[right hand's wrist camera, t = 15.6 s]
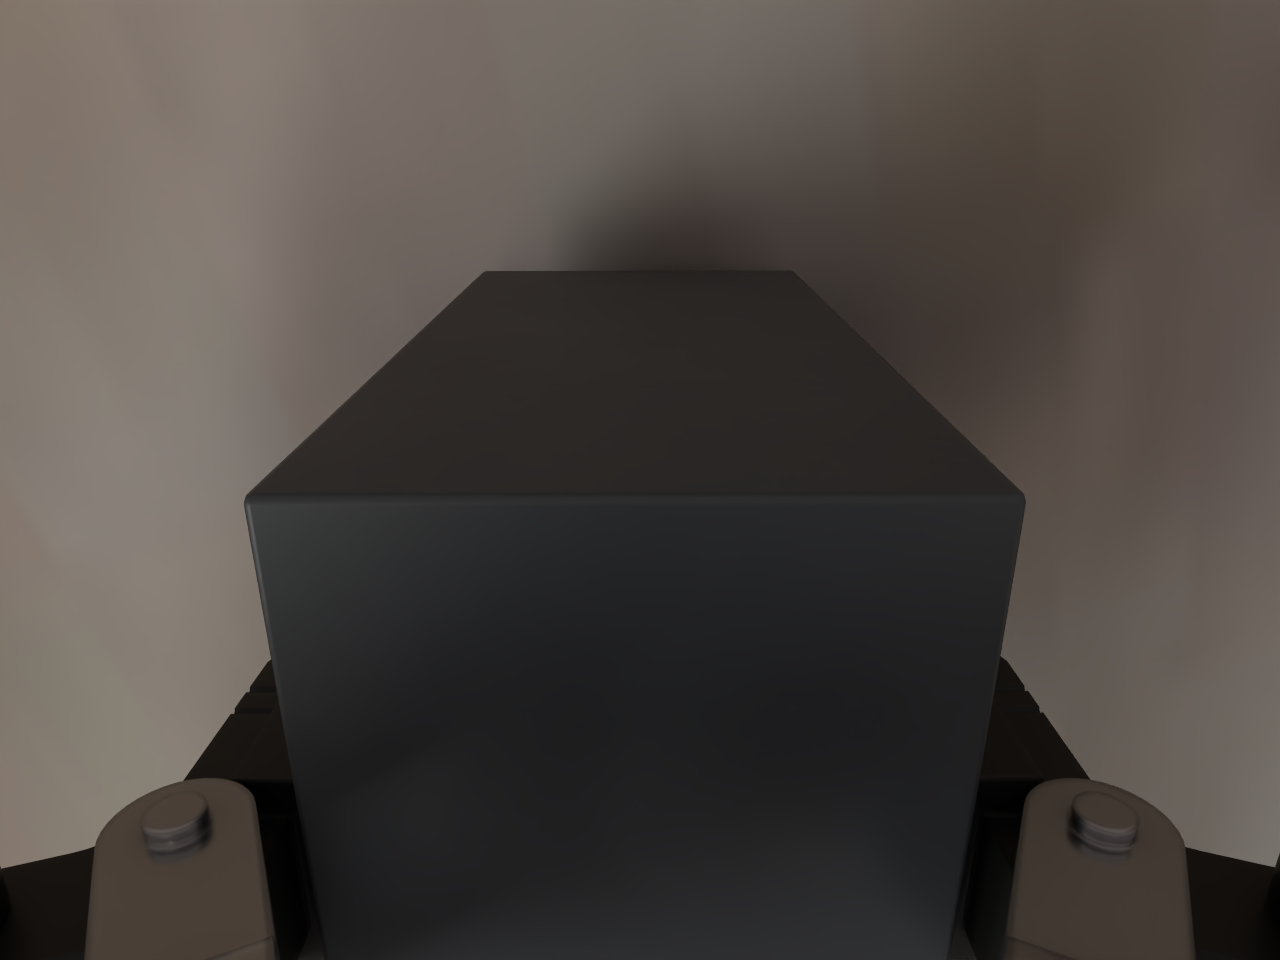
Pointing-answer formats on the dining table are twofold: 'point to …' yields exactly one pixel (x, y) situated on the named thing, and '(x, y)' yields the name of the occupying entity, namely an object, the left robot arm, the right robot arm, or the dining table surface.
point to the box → (636, 632)
